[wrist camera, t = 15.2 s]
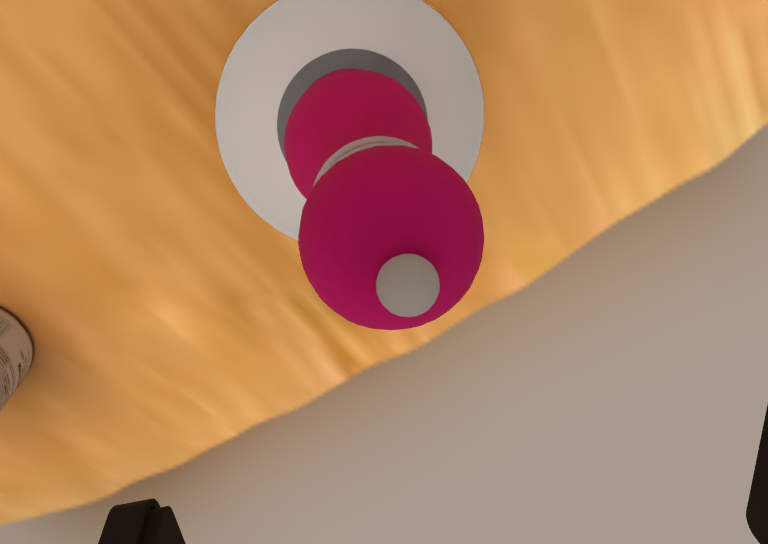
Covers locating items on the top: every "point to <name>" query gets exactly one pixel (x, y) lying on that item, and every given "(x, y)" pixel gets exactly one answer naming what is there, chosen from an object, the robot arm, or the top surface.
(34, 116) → the top surface
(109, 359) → the top surface
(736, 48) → the top surface
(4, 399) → the spray can
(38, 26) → the top surface
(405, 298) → the pepper mill
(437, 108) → the mount plate
